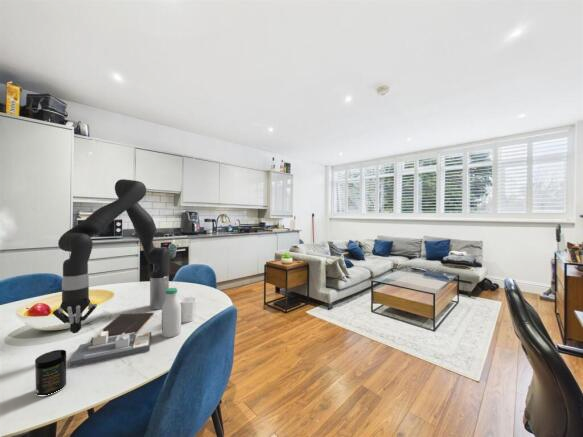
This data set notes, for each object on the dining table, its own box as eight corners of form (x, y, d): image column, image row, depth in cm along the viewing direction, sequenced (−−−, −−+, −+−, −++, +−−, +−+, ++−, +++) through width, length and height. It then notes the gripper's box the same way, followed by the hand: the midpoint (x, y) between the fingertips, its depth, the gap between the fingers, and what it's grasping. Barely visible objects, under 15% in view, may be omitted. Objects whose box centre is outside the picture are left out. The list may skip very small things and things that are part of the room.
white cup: (189, 324, 118) (189, 303, 117) (175, 322, 119) (175, 302, 119) (198, 317, 125) (198, 297, 125) (185, 315, 127) (185, 296, 127)
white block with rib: (117, 345, 94) (117, 333, 94) (129, 342, 96) (129, 331, 96) (115, 350, 91) (115, 338, 91) (128, 348, 93) (128, 336, 93)
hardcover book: (154, 316, 126) (154, 312, 126) (133, 340, 103) (133, 334, 103) (119, 318, 123) (119, 314, 123) (91, 343, 101) (91, 337, 101)
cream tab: (95, 342, 96) (95, 331, 96) (108, 340, 98) (108, 329, 98) (92, 347, 93) (92, 335, 93) (105, 345, 94) (105, 333, 94)
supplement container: (71, 386, 76) (70, 353, 75) (41, 401, 70) (41, 365, 69) (60, 379, 79) (60, 347, 78) (31, 393, 72) (30, 358, 72)
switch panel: (80, 349, 95) (80, 341, 95) (151, 336, 106) (151, 329, 106) (68, 367, 84) (68, 359, 84) (149, 351, 95) (149, 343, 95)
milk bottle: (184, 331, 111) (185, 287, 110) (171, 339, 104) (171, 292, 103) (171, 328, 113) (171, 285, 113) (157, 336, 106) (157, 290, 105)
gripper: (100, 281, 98) (100, 324, 98) (56, 285, 92) (56, 331, 92) (95, 287, 91) (95, 333, 91) (47, 291, 85) (47, 340, 85)
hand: (75, 332), depth 92 cm, fingers closed
